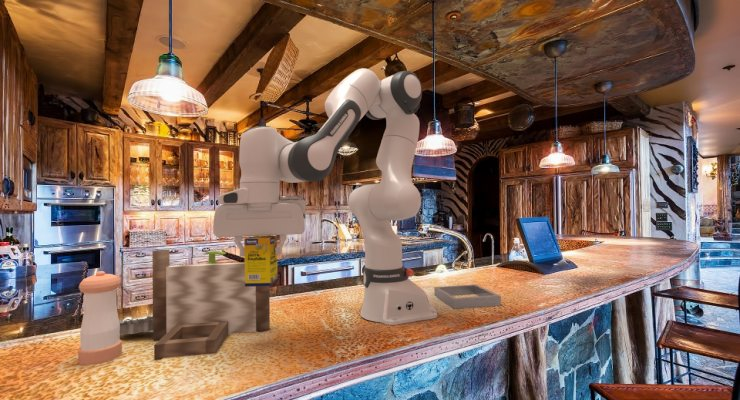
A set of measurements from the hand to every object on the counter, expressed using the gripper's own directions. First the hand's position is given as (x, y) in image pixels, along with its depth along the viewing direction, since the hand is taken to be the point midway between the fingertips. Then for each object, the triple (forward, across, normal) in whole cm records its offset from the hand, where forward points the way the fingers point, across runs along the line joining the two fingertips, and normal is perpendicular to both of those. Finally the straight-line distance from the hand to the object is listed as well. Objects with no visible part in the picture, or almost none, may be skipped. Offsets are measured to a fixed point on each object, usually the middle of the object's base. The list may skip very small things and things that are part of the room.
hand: (261, 255), depth 79 cm
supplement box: (+7, 0, 0) cm, 7 cm away
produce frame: (+22, -63, -24) cm, 70 cm away
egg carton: (+22, +32, -15) cm, 42 cm away
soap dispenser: (+21, +16, -21) cm, 34 cm away
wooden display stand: (+21, +15, -2) cm, 26 cm away
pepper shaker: (+21, +33, 0) cm, 40 cm away
